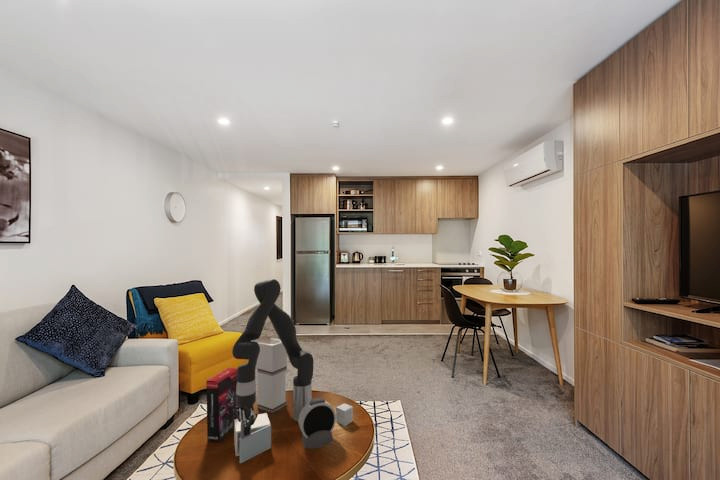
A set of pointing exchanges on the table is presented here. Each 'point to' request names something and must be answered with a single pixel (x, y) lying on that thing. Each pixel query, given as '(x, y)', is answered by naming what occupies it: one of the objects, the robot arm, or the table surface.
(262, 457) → the table surface
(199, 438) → the table surface
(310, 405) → the alarm clock
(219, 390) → the graphics card box
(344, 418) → the product box
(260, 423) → the carton
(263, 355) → the grey square tower
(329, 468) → the table surface
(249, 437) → the grey flat panel
